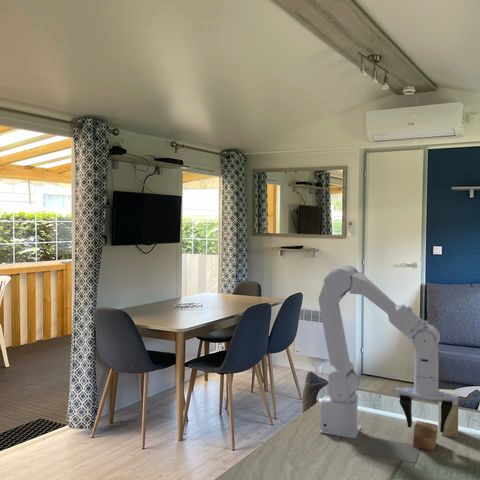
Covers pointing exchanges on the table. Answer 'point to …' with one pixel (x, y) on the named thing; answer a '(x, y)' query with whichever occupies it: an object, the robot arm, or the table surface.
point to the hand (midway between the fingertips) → (425, 428)
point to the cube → (425, 435)
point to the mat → (392, 450)
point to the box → (449, 418)
